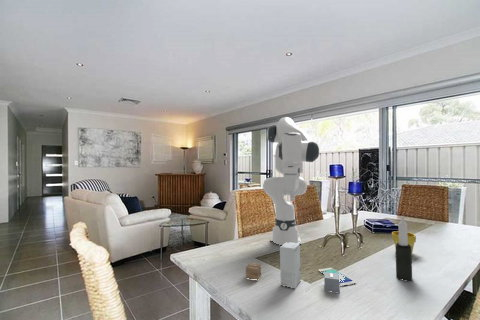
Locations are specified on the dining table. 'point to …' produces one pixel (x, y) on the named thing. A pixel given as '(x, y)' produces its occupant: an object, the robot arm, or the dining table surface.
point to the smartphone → (331, 270)
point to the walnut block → (253, 271)
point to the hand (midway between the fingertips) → (292, 200)
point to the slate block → (331, 282)
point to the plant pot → (410, 236)
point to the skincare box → (290, 264)
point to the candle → (403, 254)
